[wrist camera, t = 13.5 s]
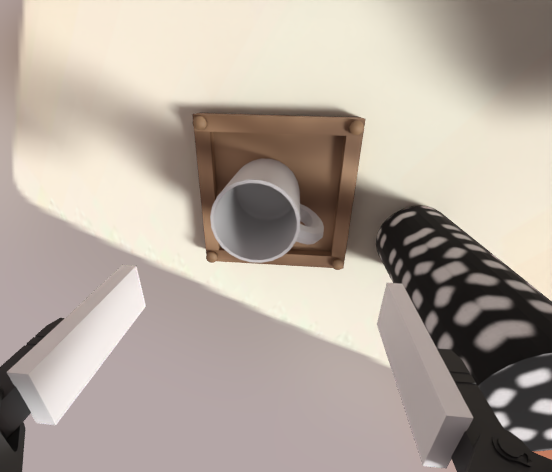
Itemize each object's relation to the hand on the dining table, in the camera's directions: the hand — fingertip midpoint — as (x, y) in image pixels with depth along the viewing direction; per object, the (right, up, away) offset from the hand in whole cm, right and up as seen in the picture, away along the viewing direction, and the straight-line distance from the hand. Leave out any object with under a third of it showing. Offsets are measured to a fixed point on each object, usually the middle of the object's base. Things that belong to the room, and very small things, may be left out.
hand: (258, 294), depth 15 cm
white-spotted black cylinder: (+17, +3, +18) cm, 25 cm away
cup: (+1, +8, +16) cm, 18 cm away
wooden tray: (+1, +8, +17) cm, 19 cm away
